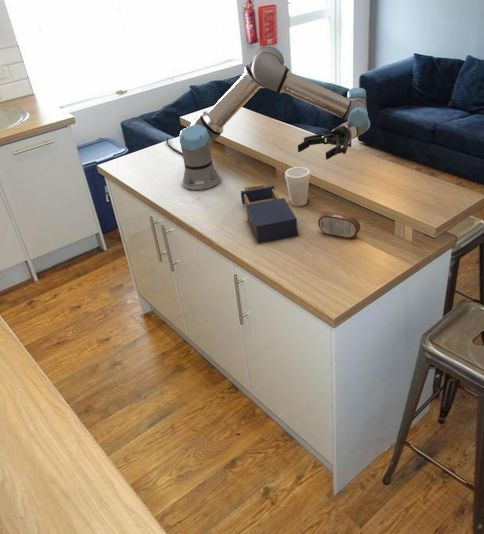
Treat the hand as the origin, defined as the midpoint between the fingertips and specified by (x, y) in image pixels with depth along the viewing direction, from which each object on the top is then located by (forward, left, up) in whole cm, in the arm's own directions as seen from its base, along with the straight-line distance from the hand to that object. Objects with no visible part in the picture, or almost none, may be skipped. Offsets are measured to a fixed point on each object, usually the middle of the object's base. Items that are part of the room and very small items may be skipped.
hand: (312, 152), depth 218 cm
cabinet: (+21, -23, -17) cm, 36 cm away
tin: (+35, -2, -18) cm, 39 cm away
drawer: (+4, -23, -16) cm, 29 cm away
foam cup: (+6, -8, -18) cm, 20 cm away
